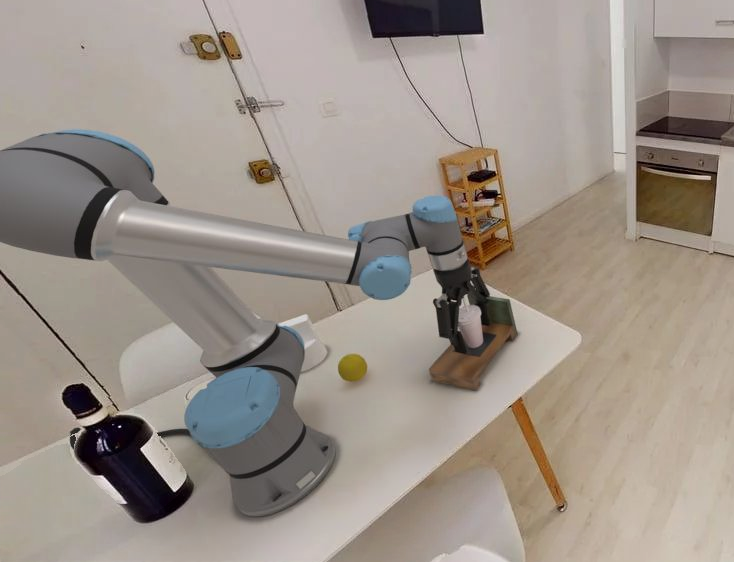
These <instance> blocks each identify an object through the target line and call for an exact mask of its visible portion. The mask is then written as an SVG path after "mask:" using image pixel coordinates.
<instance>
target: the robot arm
mask: <svg viewBox="0 0 734 562" xmlns="http://www.w3.org/2000/svg"><path fill="white" fill-rule="evenodd" d="M154 180H155V167H154V165H153V162H152V160H151V159H150V158H149V156H148V155H147V154H146V153H145V152H144V151H143V150H142V149H141V148H139V147H138V146H136V145H135V144H133V143H131V142H129V141H127V140H126V139H124V138H121V137H119V136H117V135H114V134H109V133H107V132H103V131H99V130H93V129H92V130H91V129H82V128H81V129H80V128H79V129H77V128H76V129H75V128H73V129H63V130H57V131H53V132H48V133H41V134H39V135H35V136H32V137H29V138H26V139H25V140H22V141H20V142H17V143H15V144H13V145H9V146H7V147H5V148H2V149H0V243H2V244H5V245H8V246H11V247H14V248H18V249H22V250H26V251H30V252H35V253H39V254H40V253H41V254H46V255H50V256H56V257H62V258H69V259H70V258H71V259H77V260H79V259H80V260H87V261H95V262H104V261H107V262H109V263H110V264H111V265H112V266H113V267H114V268H115V270H117V271H118V272H119V273H121V275H123V276H124V277H125V278H126V279H127V280H128V281H129V282H130V283H131V284H132V285H133V286H134V287H135V288H136V289H137V290H139V291H140V293H142V294H143V295H144V296H145V297H146V298H147V299H148V300H149V301H150V302H151V303H152V304H154V306H155V307H157V309H159V310H160V311H161V312H162V313H163V314H164V315H165V316H166V317H168V318H169V319H170V320H171V321H172V322H173V324H175V325H176V326H177V327H178V329H180V330H181V331H183V332H184V333H185V334H186V335H187V336H188V337H189V338H190V339H191V340H192V342H194V343H195V344H196V345H197V346H198V347H200V348H201V350H203V351H202V353H201V355H200V358H199V363H200V364H201V365H202V366H203V367H204V368H205V369H206V370H207V371H209V373H211V374H212V375H213V376H214V377H215V378H214V379H213V380H211V381H210V382H208V383H207V384H206V387H205V388H202V389H199V391H197V392H196V394H194V396H193V397H191V399H190V401H189V402H188V404H187V406H186V408H185V412H184V417H183V419H184V424H185V427H186V428H174V429H167V430H162V431H158V432H156V433H157V434H158V436H159V437H164V436H168V435H178V434H179V435H188V436H191V437H192V439H193V440H194V441H195V443H197V444H198V445H200V446H201V447H202V448H203V449H204V450H205V451H206V453H208V454H209V456H210V457H211V458H212V459H213V460H214V461H215V462H216V463H217V464H218V465H219V466H220V468H222V469H223V471H224V472H226V474H227V475H228V476H229V482H230V488H231V489H230V491H231V495H232V496H231V497H232V502H233V504H234V505H235V507H236V508H237V509H238V510H239V511H240V513H242V514H243V515H245V516H249V517H254V518H257V517H259V518H260V517H265V516H270V515H273V514H276V513H279V512H281V511H283V510H285V509H287V508H289V507H291V506H293V505H294V504H296V503H297V502H299V501H300V500H302V499H304V498H305V497H306V496H308V495H309V494H310V493H311V492H312V491H313V490H314V489H315V488H316V487H318V485H319V484H320V483H321V482H322V481H323V480H324V478H325V477H326V476H327V474H328V473H329V472H330V470H331V468H332V466H333V463H334V460H335V458H336V448H335V447H336V446H335V445H334V443H333V442H332V440H331V438H330V436H328V435H327V434H325V433H323V432H321V431H319V430H317V429H315V428H313V427H310V426H309V425H307V424H305V422H304V421H303V419H302V418H301V416H300V414H299V413H298V412H297V410H296V409H295V406H294V401H295V397H296V393H297V388H298V384H299V380H300V376H301V373H302V372H301V368H302V364H303V362H304V358H305V351H304V348H305V347H304V342H303V339H302V337H301V336H300V335H299V333H298V332H296V331H295V330H294V329H292V328H290V327H288V326H280V325H279V323H276V322H275V321H274V320H273V319H271V318H258V317H257V316H256V314H255V313H254V312H253V311H252V309H250V307H248V305H247V304H246V303H245V302H244V301H243V300H242V299H241V298H240V297H239V296H238V295H237V294H236V293H235V292H234V290H233V289H232V288H231V286H229V285H228V284H227V283H226V282H225V280H224V279H223V278H222V277H221V276H220V275H219V273H217V272H216V270H215V269H223V270H231V271H239V272H246V273H255V274H261V275H263V274H264V275H271V276H279V277H287V278H292V279H293V278H294V279H301V280H302V279H303V280H309V281H317V282H325V283H333V284H340V285H341V284H342V285H348V286H349V285H350V286H355V287H360V290H361V291H362V293H363V294H364V295H366V296H367V297H369V298H371V299H372V300H377V301H389V300H392V299H395V298H397V297H399V296H401V295H402V294H404V293H405V292H406V291H407V290H408V288H409V287H410V285H411V279H412V278H411V277H412V276H411V275H412V273H413V272H412V271H413V270H412V267H413V266H412V264H411V260H410V252H411V251H414V250H415V251H416V250H418V249H421V248H424V247H425V249H426V253H427V255H428V259H429V263H430V265H431V267H432V270H433V271H432V272H433V274H434V276H435V279H436V282H437V283H438V284H439V285H440V287H441V295H440V296H439V297H438V298H436V297H435V298H433V300H432V304H433V306H434V307H435V313H436V323H437V329H438V337H439V338H441V339H442V338H443V339H448V340H449V343H450V345H453V346H454V349H455V351H456V352H458V353H463V354H466V352H467V349H466V346H465V343H464V340H463V337H462V334H461V331H460V330H459V327H458V319H459V308H460V307H462V303H463V299H462V298H463V297H466V296H467V295H468V296H469V297H471V298H472V299H473V300H474V301H475V302H477V303H478V304H477V303H475V304H474V305H476V306H478V307H479V308H480V310H481V316H480V317H481V325H485V326H489V325H490V321H489V318H488V314H487V307H486V304H488V303H489V299H486V298H487V297H489V296H491V293H490V291H489V289H488V287H487V285H486V283H485V281H484V279H483V278H482V276H481V272H480V268H479V267H474V266H471V263H470V260H469V258H468V254H467V250H466V246H465V243H464V239H463V235H462V231H461V228H460V227H461V226H460V224H459V223H460V222H459V219H458V216H457V213H456V210H455V208H454V207H455V206H454V204H453V202H452V200H451V199H450V198H448V197H447V196H444V195H440V194H439V195H437V194H436V195H429V196H424V197H423V198H420V199H418V200H417V199H416V201H415V202H414V203H413V204H412V211H411V212H409V213H405V214H400V215H395V216H391V217H386V218H381V219H375V220H368V221H366V222H364V223H360V224H356V225H353V226H351V227H350V228H348V231H347V237H348V239H346V238H341V237H337V236H332V235H327V234H320V233H317V232H310V231H304V230H300V229H294V228H288V227H283V226H279V225H278V226H277V225H272V224H268V223H262V222H258V221H257V222H256V221H252V220H246V219H240V218H235V217H229V216H224V215H219V214H214V213H208V212H205V211H204V212H203V211H197V210H193V209H188V208H182V207H178V206H177V207H176V206H171V205H170V204H171V203H170V201H169V200H168V199H167V198H166V197H165V196H164V195H163V193H162V192H161V191H160V190H159V189H158V188H157V187H156V185H155V184H154ZM214 268H215V269H214ZM80 431H82V429H81V428H80V427H74V428H72V430H71V431H70V435H69V445H70V447H71V449H72V450H73V451H75V450H74V444H75V441H76V437H75V435H73V436H71V435H72V434H75V433H78V434H79V432H80ZM70 436H71V437H70Z"/></svg>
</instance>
